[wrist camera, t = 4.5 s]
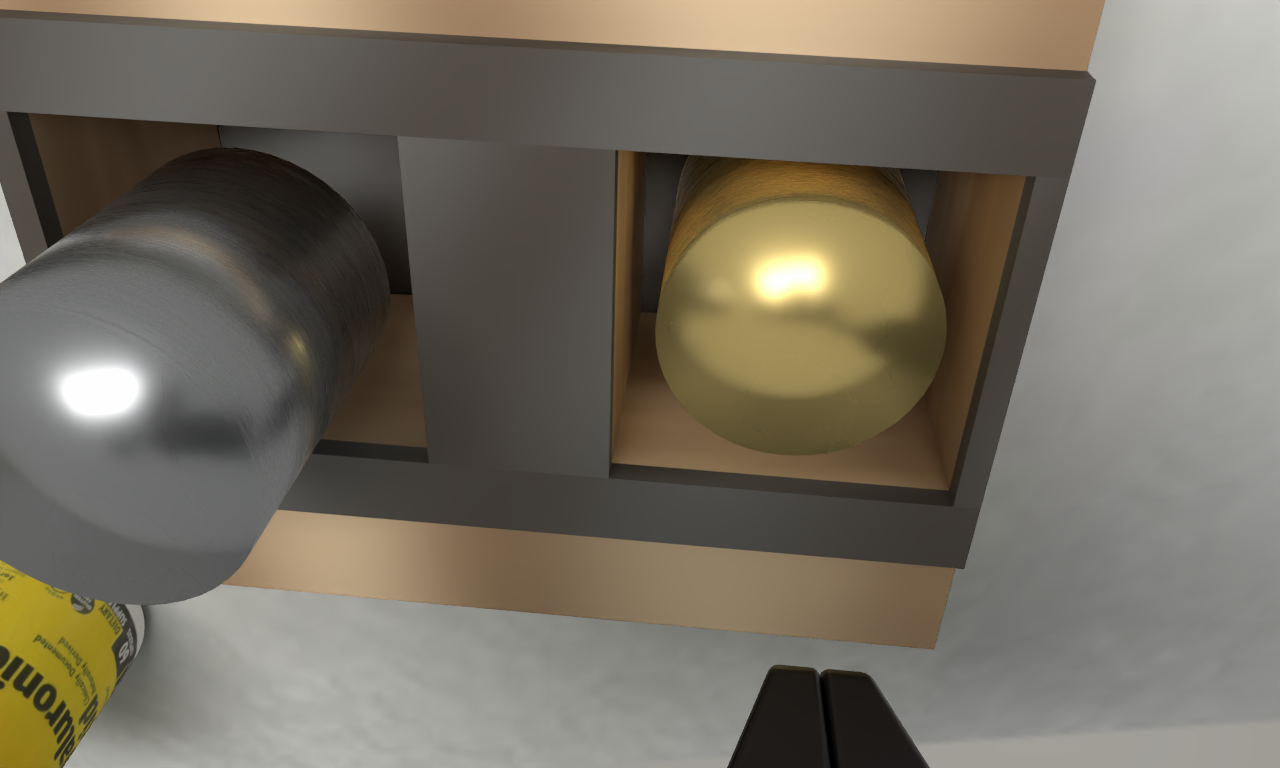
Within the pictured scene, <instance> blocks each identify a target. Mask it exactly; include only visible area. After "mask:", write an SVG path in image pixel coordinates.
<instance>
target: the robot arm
mask: <svg viewBox="0 0 1280 768" xmlns="http://www.w3.org/2000/svg"><path fill="white" fill-rule="evenodd" d="M727 768H930V767H929V766H928V764H927V763H926V761H925V760H924V758H923V756H922V755H921V753H920V752H919V750H918V749H917V747H916V745H915V744H914V742H913V741H912V739H911V738H910V736H909V735H908V733H907V731H906V730H905V728H904V727H903V725H902V724H901V722H900V720H899V719H898V717H897V716H896V714H895V713H894V711H893V710H892V708H891V706H890V705H889V703H888V702H887V700H886V699H885V697H884V695H883V694H882V692H881V691H880V689H879V688H878V686H877V685H876V683H875V682H874V680H873V679H872V678H871V677H870V676H869V675H867V674H866V673H862V672H853V671H842V670H831V669H828V670H824V671H823V672H821V674H820V675H819V674H818V672H817V671H816V670H815V669H813V668H809V667H797V666H786V665H774V666H772V667H771V668H770V669H769V671H768V673H767V675H766V678H765V680H764V682H763V685H762V687H761V689H760V692H759V694H758V697H757V699H756V701H755V704H754V706H753V708H752V711H751V713H750V715H749V718H748V720H747V722H746V725H745V727H744V729H743V732H742V734H741V737H740V739H739V741H738V744H737V746H736V748H735V751H734V753H733V755H732V758H731V760H730V762H729V765H728V767H727Z"/></svg>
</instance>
